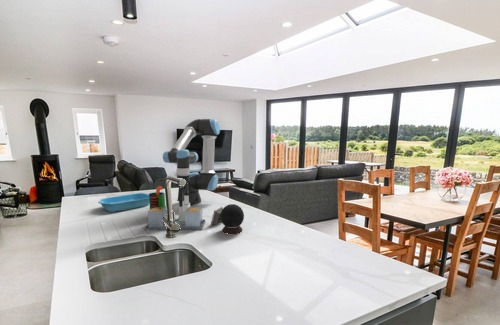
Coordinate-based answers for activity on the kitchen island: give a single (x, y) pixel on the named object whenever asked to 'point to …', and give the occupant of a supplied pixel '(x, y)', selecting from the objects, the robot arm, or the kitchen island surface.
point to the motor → (157, 198)
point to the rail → (191, 223)
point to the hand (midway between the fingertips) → (184, 208)
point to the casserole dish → (125, 202)
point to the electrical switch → (216, 216)
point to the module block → (182, 214)
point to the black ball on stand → (232, 219)
